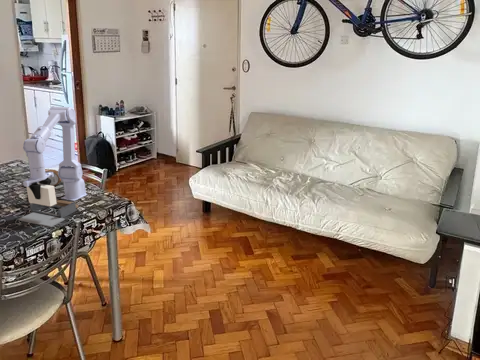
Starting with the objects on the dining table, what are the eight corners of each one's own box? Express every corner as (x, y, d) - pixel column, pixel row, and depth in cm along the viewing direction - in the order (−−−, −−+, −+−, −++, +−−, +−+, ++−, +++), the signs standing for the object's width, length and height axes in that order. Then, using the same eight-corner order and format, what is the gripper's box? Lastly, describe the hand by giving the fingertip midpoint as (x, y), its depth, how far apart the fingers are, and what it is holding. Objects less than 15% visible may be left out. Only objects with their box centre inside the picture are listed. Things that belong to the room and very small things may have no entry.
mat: (33, 213, 199) (32, 212, 199) (64, 219, 192) (64, 218, 192) (18, 220, 192) (18, 219, 192) (50, 227, 185) (50, 226, 185)
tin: (63, 184, 235) (60, 169, 232) (60, 186, 232) (57, 171, 229) (35, 183, 236) (33, 168, 233) (32, 185, 233) (30, 170, 230)
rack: (46, 205, 208) (45, 197, 207) (76, 210, 202) (75, 202, 200) (30, 212, 200) (29, 204, 198) (61, 218, 194) (60, 210, 192)
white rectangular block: (35, 199, 196) (32, 182, 193) (56, 203, 191) (54, 186, 189) (28, 202, 193) (26, 184, 190) (50, 206, 188) (47, 188, 186)
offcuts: (56, 202, 210) (55, 198, 210) (78, 207, 206) (78, 203, 205) (51, 205, 208) (51, 201, 207) (73, 209, 203) (73, 205, 202)
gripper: (43, 161, 195) (47, 190, 199) (15, 170, 182) (20, 201, 186) (55, 163, 192) (59, 192, 196) (28, 172, 179) (33, 204, 184)
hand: (41, 197), depth 191 cm, fingers closed on white rectangular block, 3 cm apart
